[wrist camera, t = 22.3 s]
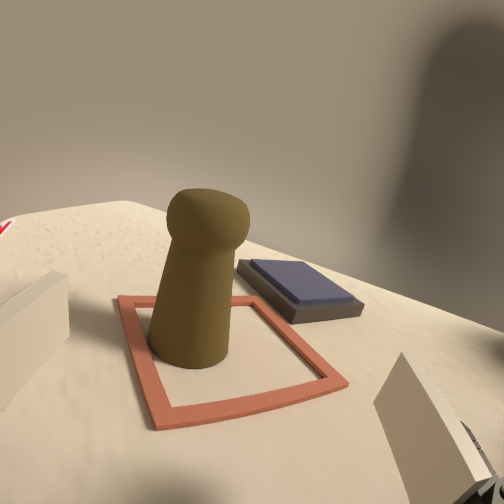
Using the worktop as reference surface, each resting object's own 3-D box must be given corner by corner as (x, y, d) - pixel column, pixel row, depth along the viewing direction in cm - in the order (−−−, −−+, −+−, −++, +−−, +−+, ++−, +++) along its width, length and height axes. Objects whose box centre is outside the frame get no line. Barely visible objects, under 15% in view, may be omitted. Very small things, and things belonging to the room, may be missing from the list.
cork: (132, 329, 22) (147, 179, 19) (194, 314, 26) (218, 184, 23) (179, 379, 18) (206, 203, 15) (245, 352, 23) (281, 205, 20)
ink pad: (360, 315, 34) (366, 300, 34) (291, 324, 29) (298, 305, 28) (300, 272, 44) (304, 258, 43) (236, 270, 39) (240, 255, 38)
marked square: (347, 387, 21) (349, 383, 21) (156, 430, 14) (156, 426, 14) (257, 298, 32) (258, 295, 32) (117, 299, 25) (117, 295, 25)
